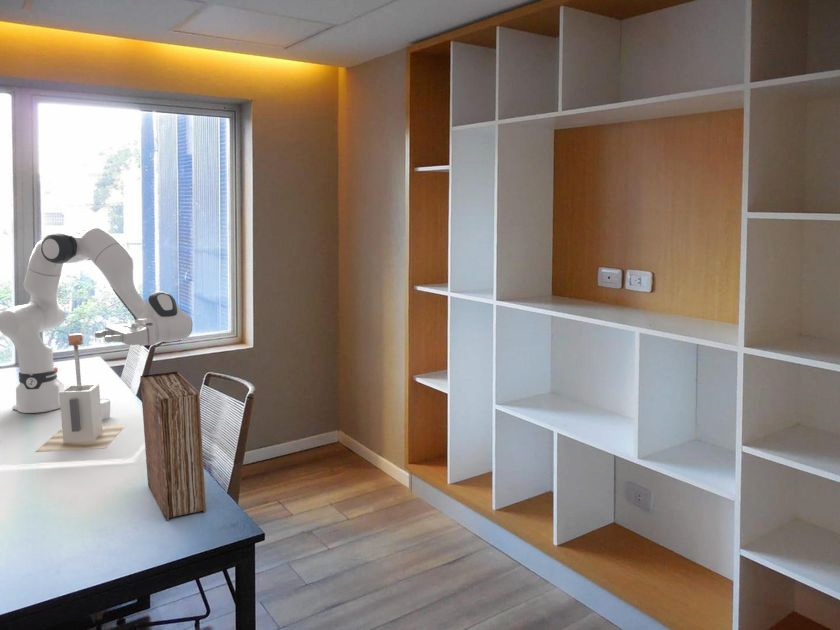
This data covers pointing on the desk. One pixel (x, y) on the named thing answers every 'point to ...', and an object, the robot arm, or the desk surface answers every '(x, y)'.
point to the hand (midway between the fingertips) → (100, 337)
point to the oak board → (99, 443)
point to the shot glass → (105, 408)
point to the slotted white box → (80, 413)
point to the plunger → (76, 355)
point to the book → (173, 443)
